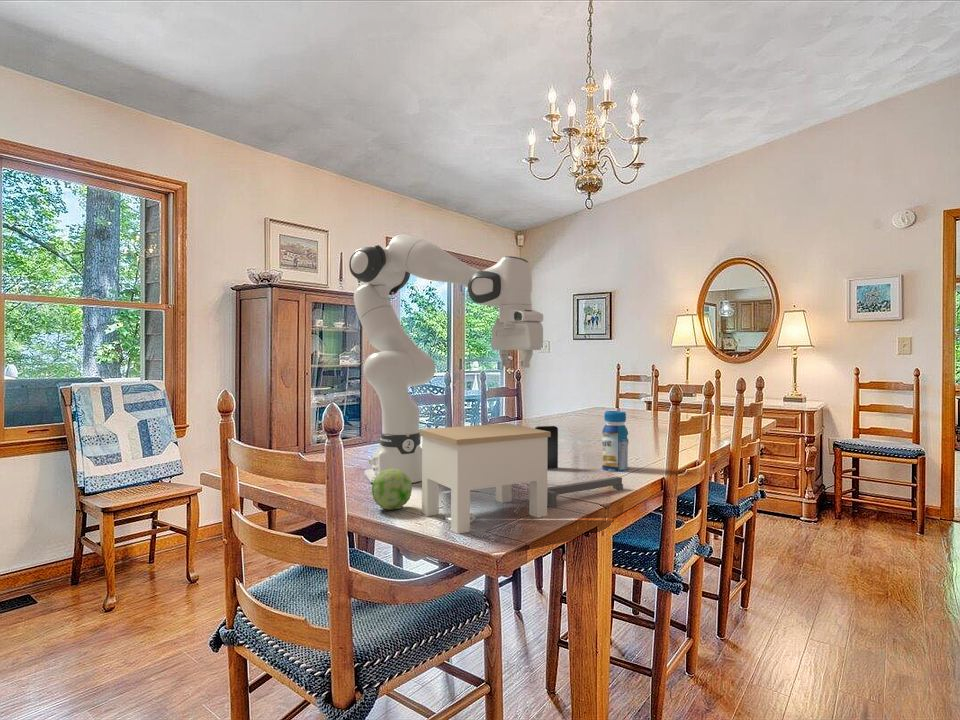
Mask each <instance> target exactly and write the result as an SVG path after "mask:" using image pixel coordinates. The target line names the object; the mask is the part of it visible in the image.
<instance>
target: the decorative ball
mask: <svg viewBox="0 0 960 720" xmlns="http://www.w3.org/2000/svg"><path fill="white" fill-rule="evenodd" d="M412 489H413V485H412V483H411V480H410V479H409V477H408V476H407V475H406V474H405V473H404V472H402V471H401V470H398V469H387V470H384V471H382V472H381V473H380V474H379V475H377V476H376V478H375V479H374V482H373V483H372V486H371V494H372V498H373V501H374V503H376V505H378V506H379V507H380V508H381V509H385V510H387V511H395V510H398V509H400V508H402V507H403V506H405V505H406V504H407V502H409V500H410V499H411V495H412V492H413V490H412Z"/></svg>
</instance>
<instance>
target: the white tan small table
mask: <svg viewBox="0 0 960 720" xmlns="http://www.w3.org/2000/svg"><path fill="white" fill-rule="evenodd" d="M419 434H420V436H421V448H422V481H421V514H422V515H425V516H426V517H430V516H436V515H437V516H439V514H440V513H439V512H440V509H439V508H440V504H439V503H440V498H439V497H440V492H439V491H440V486H439V485H442V486H444V487H446V488H448V489H450V513H451V524H450V531H452V532H454V533H455V534H458V535H459V534H465V533H468V532H469V533H470V528H471V523H470V513H471V512H470V511H471V509H470V508H471V505H470V504H471V499H470V498H471V494H470V493H471V490H480V489H487V488H495V501H497V502H499V503H501V504H504V503H507V502H512V500H513V497H512V495H513V494H512V493H513V491H512V489H513V488H512V487H513V486H512V485H515V484H516V485H517V484H522V483H529V496H528V497H529V499H528V500H529V504H528V506H529V511H528V514H529V515H530V516H532V517H534V518H536V517H537V518H538V517H539V518H543V517H548V507H547V487H548V469H547V448H548V437H551V432H549V431H544V430H539V429H535V428H532V427H527V426H521V425H518V424H512V423H507V422H506V423H491V424H478V425H476V424H475V425H464V426H451V427H449V426H448V427H434V428H421V429H420V428H419ZM542 516H543V517H542Z"/></svg>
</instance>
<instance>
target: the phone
mask: <svg viewBox="0 0 960 720" xmlns="http://www.w3.org/2000/svg"><path fill="white" fill-rule="evenodd" d="M534 429H539V430H544V431H549V432H551V437H548V448H547V470H548V469H549V470H551V469H559V428H558V426H556V425H541V426H539V425H538V426H535V428H534Z"/></svg>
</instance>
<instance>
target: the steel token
mask: <svg viewBox="0 0 960 720" xmlns="http://www.w3.org/2000/svg"><path fill="white" fill-rule="evenodd" d="M444 520H445V523H448V524H450V525H451V512H449V513H447V514H446V515H445V516H444ZM474 521H475V522H476V514H474V513H472V512H470V524H473V523H475V522H474Z"/></svg>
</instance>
